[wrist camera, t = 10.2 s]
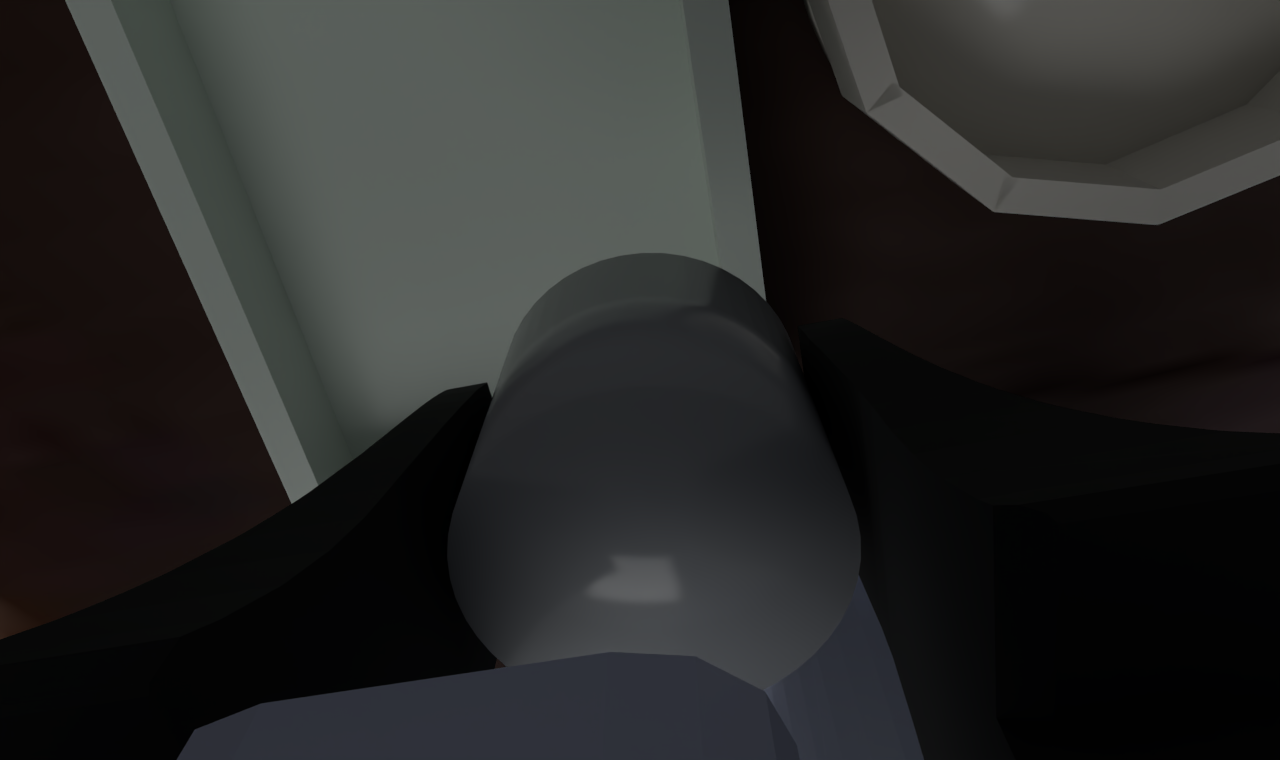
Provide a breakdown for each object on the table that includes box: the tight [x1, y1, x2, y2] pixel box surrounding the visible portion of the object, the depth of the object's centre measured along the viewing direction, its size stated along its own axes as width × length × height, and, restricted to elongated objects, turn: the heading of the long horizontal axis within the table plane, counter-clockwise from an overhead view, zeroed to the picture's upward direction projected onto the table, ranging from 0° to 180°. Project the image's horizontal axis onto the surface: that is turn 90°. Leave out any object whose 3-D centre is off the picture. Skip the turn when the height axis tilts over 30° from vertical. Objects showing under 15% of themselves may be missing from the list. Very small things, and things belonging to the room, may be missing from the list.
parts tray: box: [65, 0, 766, 503], centre depth 18 cm, size 15×12×3 cm
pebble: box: [447, 253, 861, 690], centre depth 11 cm, size 4×4×4 cm
